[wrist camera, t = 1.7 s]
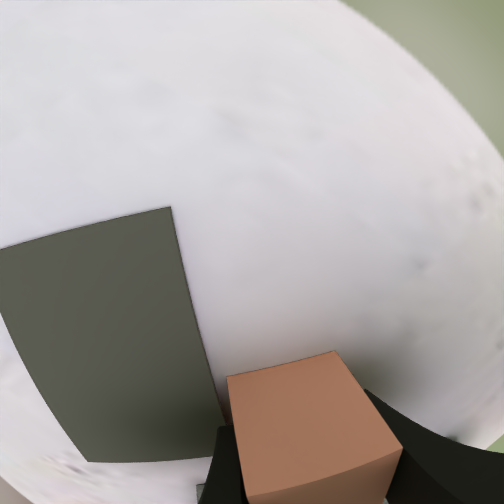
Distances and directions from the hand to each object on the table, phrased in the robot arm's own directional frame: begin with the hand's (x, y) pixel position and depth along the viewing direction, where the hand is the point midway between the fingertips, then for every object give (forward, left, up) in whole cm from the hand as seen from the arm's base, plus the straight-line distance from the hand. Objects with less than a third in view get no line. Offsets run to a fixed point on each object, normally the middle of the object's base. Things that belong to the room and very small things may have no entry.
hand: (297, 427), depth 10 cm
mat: (+6, -3, -1) cm, 7 cm away
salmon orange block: (0, +3, -1) cm, 3 cm away
